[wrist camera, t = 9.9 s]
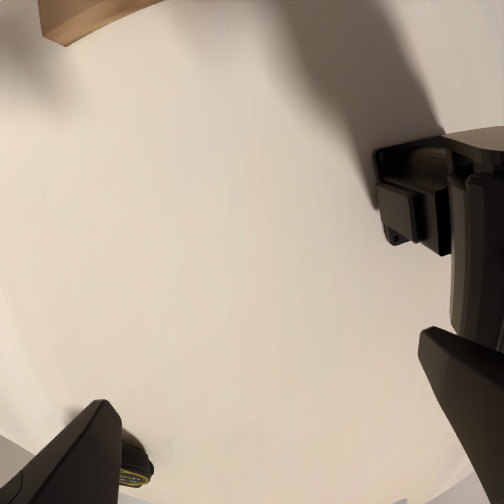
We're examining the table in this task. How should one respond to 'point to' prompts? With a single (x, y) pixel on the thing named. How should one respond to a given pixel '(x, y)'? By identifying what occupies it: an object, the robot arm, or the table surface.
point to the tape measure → (134, 467)
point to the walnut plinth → (82, 16)
